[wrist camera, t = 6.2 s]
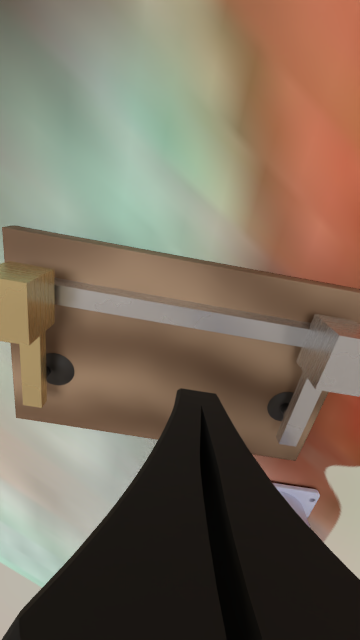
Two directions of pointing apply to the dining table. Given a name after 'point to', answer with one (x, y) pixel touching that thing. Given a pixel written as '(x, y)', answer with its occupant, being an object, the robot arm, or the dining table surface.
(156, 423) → the slide rail board
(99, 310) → the trammel
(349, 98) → the dining table surface
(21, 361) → the block
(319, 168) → the dining table surface
